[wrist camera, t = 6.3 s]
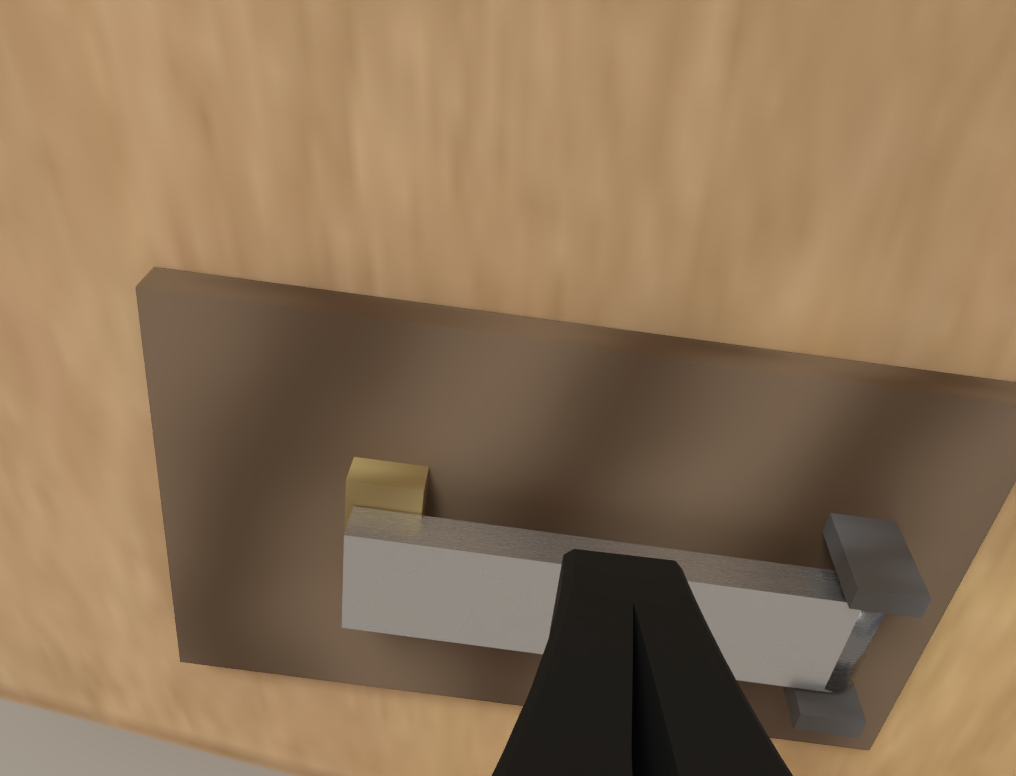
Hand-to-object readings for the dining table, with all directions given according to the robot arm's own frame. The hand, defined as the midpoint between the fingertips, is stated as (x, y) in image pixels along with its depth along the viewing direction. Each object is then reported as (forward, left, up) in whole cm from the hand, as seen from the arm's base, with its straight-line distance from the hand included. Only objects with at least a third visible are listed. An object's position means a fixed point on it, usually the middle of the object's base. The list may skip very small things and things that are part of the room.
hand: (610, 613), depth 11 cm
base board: (0, +7, -10) cm, 12 cm away
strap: (-2, +7, -8) cm, 11 cm away
